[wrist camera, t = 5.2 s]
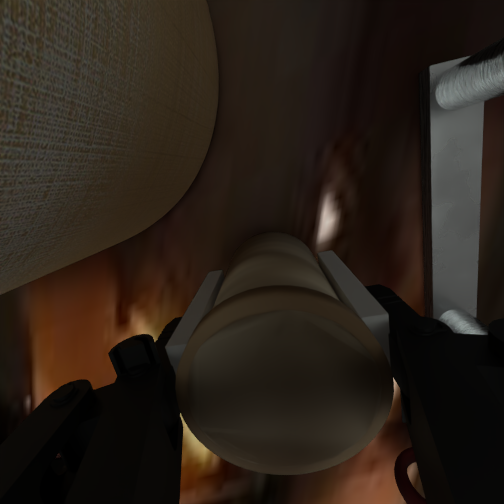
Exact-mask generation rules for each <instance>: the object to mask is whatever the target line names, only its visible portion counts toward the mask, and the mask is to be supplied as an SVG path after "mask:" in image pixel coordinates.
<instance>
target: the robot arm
mask: <svg viewBox="0 0 504 504" xmlns="http://www.w3.org/2000/svg"><path fill="white" fill-rule="evenodd" d="M317 254H318V261H319V266H320V268H321V270H322V271H323V273H324V275H325V276H326V278H327V280H328V282H329V283H330V285H331V287H332V288H333V290H334V292H335V293H336V295H337V297H338V298H339V300H340V301H341V302H343V303H344V304H345V305H347V306H348V307H349V308H351V309H352V310H353V311H354V312H355V313H356V314H357V315H358V316H359V317H360V318H361V319H362V320H363V321H364V323H365V324H366V325H367V327H368V328H369V329H370V331H371V332H372V334H373V335H374V337H375V338H376V340H377V341H378V343H379V344H380V346H381V347H382V349H383V351H384V353H385V355H386V356H387V358H388V361H389V364H390V367H391V370H392V376H393V378H394V379H395V381H396V382H397V384H398V386H399V387H400V392H401V407H402V422H403V423H407V427H408V431H409V435H410V439H411V443H412V447H413V451H414V455H415V459H416V463H417V466H418V470H419V474H420V478H421V482H422V486H423V490H424V494H425V498H426V502H427V504H504V318H503V319H498V320H494V321H492V322H491V323H490V324H489V326H488V335H481V334H462V333H454V332H453V330H452V329H451V328H450V327H449V326H448V325H447V324H446V323H443V322H441V321H439V320H437V319H433V318H429V317H421V316H419V315H418V314H417V313H416V312H415V311H414V310H413V309H412V308H411V307H410V306H409V305H407V304H406V303H405V302H404V301H403V300H402V299H401V298H400V297H399V296H397V295H396V294H395V293H394V292H393V291H392V290H391V289H390V288H387V287H385V286H382V285H380V284H378V285H372V286H366V287H364V286H363V285H362V283H361V282H360V281H359V280H358V279H357V278H356V277H355V276H354V274H353V273H352V272H351V271H350V270H349V269H348V268H347V267H346V265H345V264H344V263H343V262H342V261H341V260H340V259H339V258H338V256H337V255H336V254H335V253H334V252H333V251H332V250H331V251H325V252H320V253H317ZM223 281H224V274H223V270H218V271H212V272H209V273H208V275H207V276H206V278H205V280H204V281H203V283H202V285H201V287H200V288H199V290H198V292H197V293H196V295H195V297H194V299H193V300H192V302H191V304H190V305H189V307H188V309H187V311H186V312H185V314H184V316H183V317H179V318H175V319H173V320H172V321H171V322H170V323H168V324H167V325H166V326H165V328H164V329H163V331H162V334H160V336H159V337H158V340H156V342H154V339H153V337H152V336H151V335H149V334H141V335H136V336H133V337H130V338H128V339H126V340H124V341H122V342H120V343H118V344H117V345H116V346H115V347H113V348H112V349H111V351H110V352H109V353H108V354H109V357H110V359H111V362H112V364H113V367H114V369H115V372H116V374H117V378H116V381H115V383H113V384H110V385H107V386H104V387H101V388H99V389H96V390H93V388H92V385H91V383H90V382H89V381H88V380H77V381H73V382H69V383H67V384H65V385H63V386H61V387H60V388H59V389H57V390H55V391H54V392H52V393H51V394H50V395H49V396H48V397H47V398H46V399H44V400H43V401H42V403H41V404H40V405H39V406H38V407H37V408H36V409H35V410H34V411H33V412H32V413H31V414H30V415H29V416H28V417H27V418H26V419H25V420H24V421H23V422H22V423H21V424H20V425H19V426H18V427H17V428H16V429H15V430H14V431H13V432H12V433H11V435H10V436H9V437H8V438H7V439H6V440H5V441H4V442H3V443H2V444H1V445H0V504H179V499H180V480H181V460H182V441H183V424H182V420H181V417H180V413H181V412H180V410H179V406H178V403H177V399H176V390H175V383H176V373H177V368H178V364H179V362H180V359H181V357H182V354H183V352H184V350H185V347H186V345H187V343H188V341H189V339H190V337H191V335H192V333H193V331H194V329H195V328H196V326H197V325H198V323H199V322H200V321H201V320H202V318H203V317H204V316H205V315H206V314H207V313H208V312H209V311H210V310H212V309H213V306H214V304H215V301H216V299H217V296H218V294H219V291H220V288H221V286H222V283H223ZM58 453H60V455H61V457H62V459H58V460H54V458H55V457H56V456H57V454H58Z"/></svg>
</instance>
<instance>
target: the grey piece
mask: <svg viewBox="0 0 504 504" xmlns="http://www.w3.org/2000/svg"><path fill="white" fill-rule="evenodd" d="M419 93H420V134H421V175H422V216H423V258H424V299H425V317H429V318H433V319H437V320H439V321H441V322H443V323H446V324H447V325H448V326H449V327H450V328H451V329H452V330H453V332H454V333H462V334H481V335H488V326H487V325H485V324H484V323H482V322H481V321H480V320H478V319H477V318H476V307H477V279H478V251H479V224H480V196H481V168H482V140H483V112H484V101H487V100H490V99H493V98H496V97H499V96H502V95H504V37H503V38H501V39H500V40H498V41H496V42H494V43H493V44H491V45H489V46H488V47H486V48H484V49H482V50H481V51H479V52H477V53H475V54H474V55H472V56H468V57H464V58H460V59H456V60H452V61H448V62H444V63H440V64H436V65H432V66H429V67H427V68H426V69H424V70H423V71H421V72H420V73H419Z"/></svg>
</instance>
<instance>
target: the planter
mask: <svg viewBox="0 0 504 504" xmlns="http://www.w3.org/2000/svg"><path fill="white" fill-rule="evenodd" d="M218 95H219V72H218V58H217V49H216V42H215V36H214V30H213V25H212V21H211V16H210V12H209V8H208V4H207V1H206V0H0V295H1V294H3V293H5V292H8V291H10V290H12V289H14V288H17V287H19V286H21V285H24V284H26V283H28V282H31V281H33V280H35V279H37V278H40V277H42V276H44V275H47V274H49V273H51V272H54V271H56V270H58V269H61V268H63V267H65V266H68V265H70V264H72V263H74V262H77V261H79V260H81V259H84V258H86V257H88V256H91V255H93V254H95V253H97V252H100V251H102V250H104V249H107V248H109V247H111V246H113V245H116V244H118V243H120V242H122V241H124V240H127V239H129V238H131V237H133V236H134V235H136V234H138V233H140V232H142V231H143V230H145V229H147V228H148V227H150V226H151V225H152V224H154V223H155V222H157V221H158V220H159V219H160V218H162V217H163V216H164V215H165V214H166V213H167V212H168V211H170V210H171V209H172V208H173V207H174V206H175V205H176V204H177V202H178V201H179V200H180V199H181V198H182V197H183V195H184V194H185V193H186V191H187V190H188V189H189V187H190V185H191V184H192V182H193V181H194V179H195V177H196V175H197V174H198V172H199V170H200V168H201V166H202V164H203V161H204V159H205V156H206V154H207V151H208V148H209V145H210V142H211V138H212V134H213V130H214V125H215V120H216V114H217V107H218Z"/></svg>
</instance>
